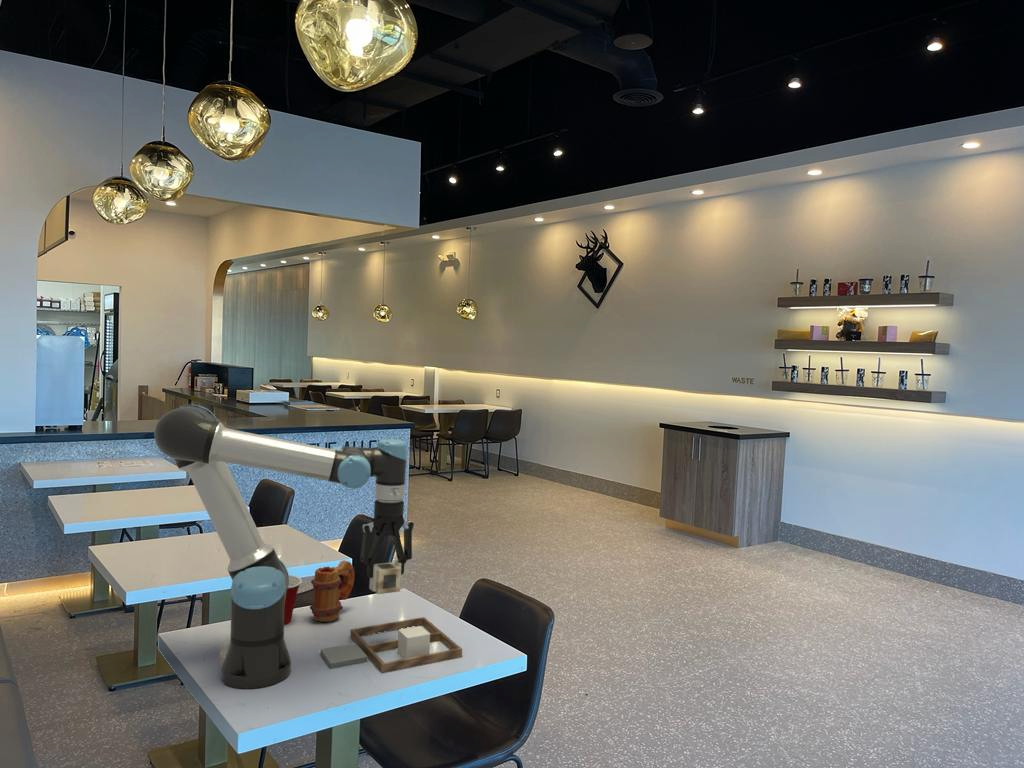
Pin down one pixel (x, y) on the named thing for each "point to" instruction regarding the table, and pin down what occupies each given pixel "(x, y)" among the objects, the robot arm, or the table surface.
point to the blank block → (413, 642)
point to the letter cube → (388, 578)
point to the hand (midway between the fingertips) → (384, 588)
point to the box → (388, 645)
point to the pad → (343, 655)
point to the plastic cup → (291, 597)
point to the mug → (331, 590)
